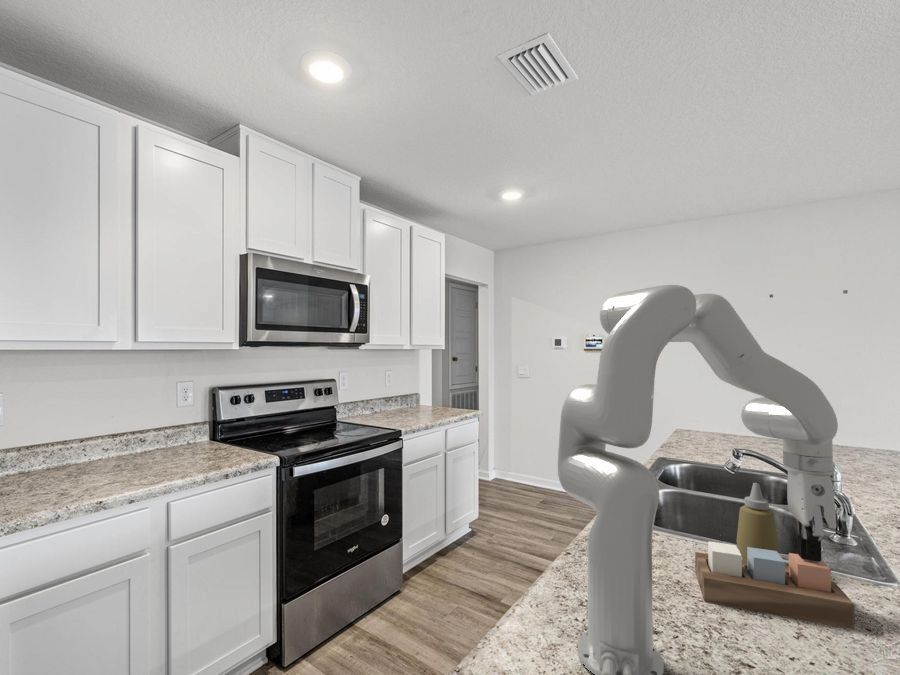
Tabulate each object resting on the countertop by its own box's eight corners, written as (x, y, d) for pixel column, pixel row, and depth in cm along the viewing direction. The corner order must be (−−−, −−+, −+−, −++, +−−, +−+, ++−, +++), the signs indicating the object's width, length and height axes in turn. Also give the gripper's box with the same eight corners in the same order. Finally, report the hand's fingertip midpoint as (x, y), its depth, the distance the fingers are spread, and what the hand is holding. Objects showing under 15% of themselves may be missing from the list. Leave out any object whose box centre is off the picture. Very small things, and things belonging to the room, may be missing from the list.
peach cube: (831, 598, 81) (830, 569, 81) (798, 592, 83) (797, 564, 83) (820, 585, 86) (819, 557, 86) (789, 580, 88) (788, 552, 88)
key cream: (741, 583, 86) (741, 555, 87) (712, 577, 88) (712, 551, 89) (736, 571, 91) (735, 545, 91) (708, 566, 93) (708, 541, 93)
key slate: (785, 590, 84) (784, 562, 84) (754, 585, 86) (753, 557, 86) (776, 577, 89) (776, 551, 89) (747, 573, 90) (747, 546, 91)
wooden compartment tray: (854, 629, 77) (853, 603, 77) (704, 601, 86) (703, 577, 86) (825, 594, 88) (825, 572, 88) (695, 572, 97) (695, 551, 97)
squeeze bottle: (738, 551, 108) (737, 476, 108) (780, 561, 102) (778, 483, 103) (734, 563, 101) (733, 484, 102) (778, 574, 96) (776, 491, 97)
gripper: (850, 474, 77) (852, 581, 76) (815, 455, 91) (818, 545, 90) (797, 470, 80) (799, 573, 79) (772, 452, 94) (774, 540, 93)
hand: (809, 558), depth 85 cm, fingers closed
